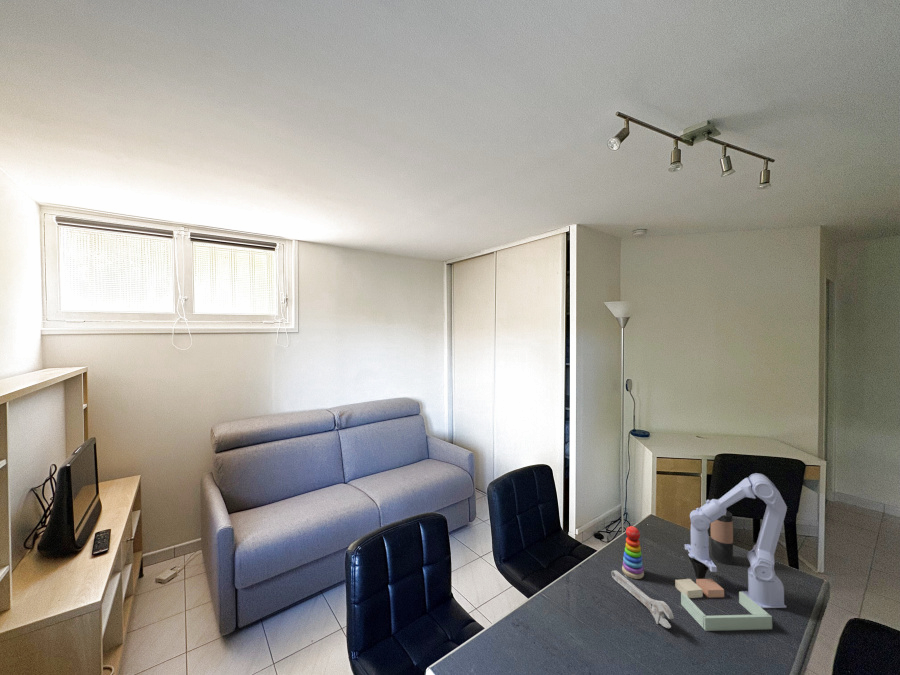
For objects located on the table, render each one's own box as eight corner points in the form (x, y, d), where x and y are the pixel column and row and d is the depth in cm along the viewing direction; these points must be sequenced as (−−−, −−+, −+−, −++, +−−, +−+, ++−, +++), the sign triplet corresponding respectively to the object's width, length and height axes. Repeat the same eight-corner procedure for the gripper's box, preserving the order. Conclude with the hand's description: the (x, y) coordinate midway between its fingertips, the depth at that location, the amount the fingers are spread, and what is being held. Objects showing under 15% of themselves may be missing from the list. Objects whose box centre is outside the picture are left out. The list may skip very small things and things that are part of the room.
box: (742, 602, 125) (741, 591, 125) (772, 629, 114) (772, 616, 114) (681, 604, 125) (680, 592, 125) (705, 630, 113) (705, 618, 113)
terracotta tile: (711, 586, 134) (711, 578, 134) (724, 598, 128) (724, 589, 128) (696, 586, 134) (696, 579, 134) (708, 598, 128) (708, 590, 128)
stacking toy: (617, 570, 144) (616, 524, 144) (631, 565, 147) (630, 519, 147) (634, 582, 136) (634, 533, 137) (648, 576, 140) (648, 528, 140)
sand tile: (689, 586, 134) (689, 578, 134) (702, 597, 128) (702, 589, 128) (675, 587, 134) (675, 579, 134) (687, 599, 128) (687, 590, 128)
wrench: (616, 584, 140) (676, 636, 111) (611, 584, 140) (671, 637, 110) (614, 562, 141) (673, 608, 112) (610, 562, 141) (668, 609, 111)
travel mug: (738, 564, 147) (737, 516, 147) (719, 564, 147) (718, 516, 147) (724, 553, 154) (723, 507, 155) (706, 553, 154) (705, 507, 155)
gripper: (677, 533, 144) (677, 567, 143) (703, 554, 129) (703, 592, 129) (694, 533, 144) (694, 566, 143) (722, 554, 129) (722, 591, 129)
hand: (700, 578), depth 136 cm, fingers closed
